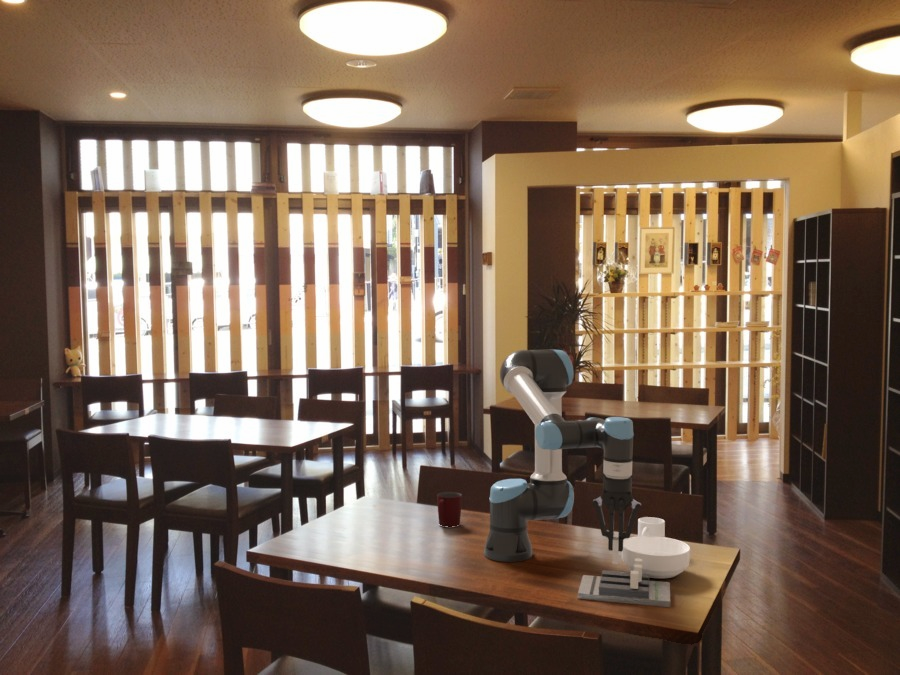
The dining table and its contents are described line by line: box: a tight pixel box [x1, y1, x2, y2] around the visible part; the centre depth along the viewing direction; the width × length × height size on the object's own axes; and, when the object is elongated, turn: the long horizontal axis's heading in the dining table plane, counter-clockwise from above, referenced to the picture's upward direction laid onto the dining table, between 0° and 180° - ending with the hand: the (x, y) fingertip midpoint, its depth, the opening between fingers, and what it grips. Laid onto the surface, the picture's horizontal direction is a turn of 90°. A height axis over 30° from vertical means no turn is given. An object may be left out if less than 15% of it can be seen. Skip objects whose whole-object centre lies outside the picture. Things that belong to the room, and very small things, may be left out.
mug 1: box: [436, 491, 463, 527], centre depth 286 cm, size 12×9×11 cm
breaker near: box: [630, 570, 638, 589], centre depth 213 cm, size 2×2×4 cm
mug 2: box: [637, 516, 666, 537], centre depth 255 cm, size 12×8×10 cm
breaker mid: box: [634, 564, 642, 582], centre depth 219 cm, size 2×2×4 cm
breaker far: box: [635, 558, 642, 565], centre depth 224 cm, size 2×2×4 cm
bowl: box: [620, 535, 691, 579], centre depth 236 cm, size 20×20×8 cm
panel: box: [577, 569, 671, 608], centre depth 220 cm, size 24×15×4 cm, turn 75°
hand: (615, 562), depth 215 cm, fingers closed
